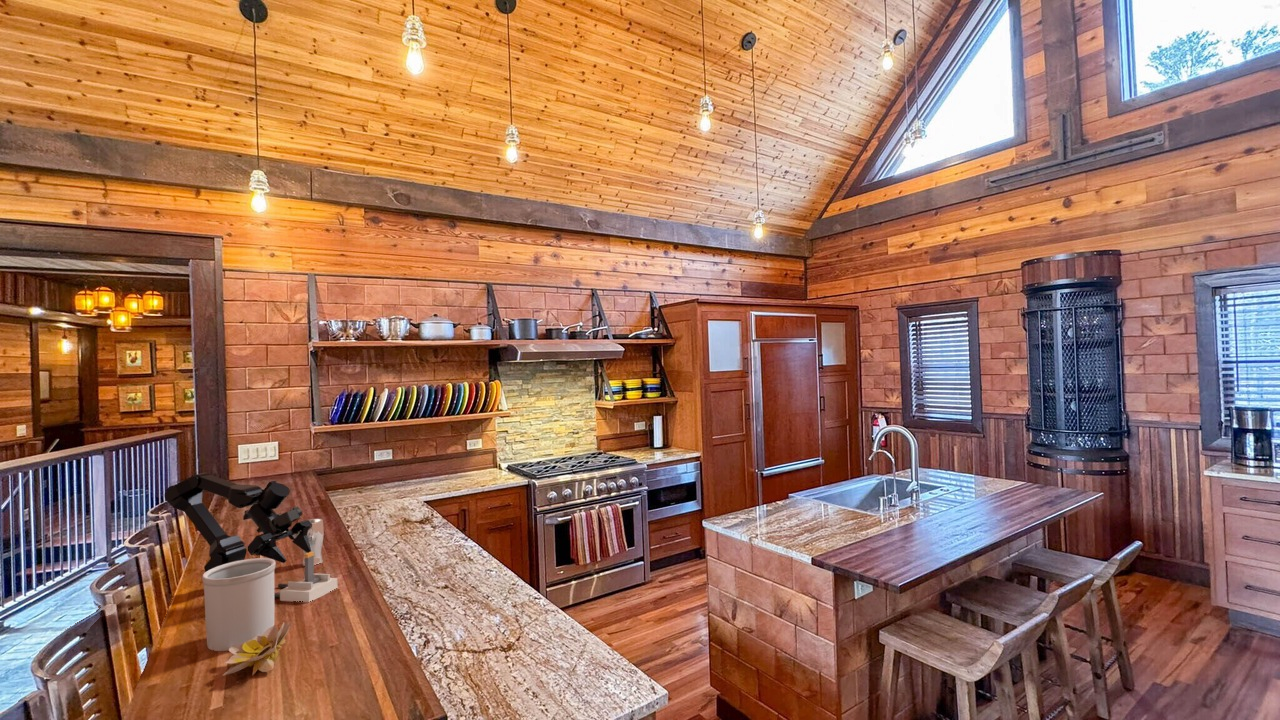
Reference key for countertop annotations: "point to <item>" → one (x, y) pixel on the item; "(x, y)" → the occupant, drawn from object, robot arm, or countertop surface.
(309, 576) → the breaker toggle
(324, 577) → the box
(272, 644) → the decorative flower
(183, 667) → the countertop surface
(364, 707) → the countertop surface
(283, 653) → the countertop surface
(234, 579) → the utensil holder
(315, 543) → the beer glass
